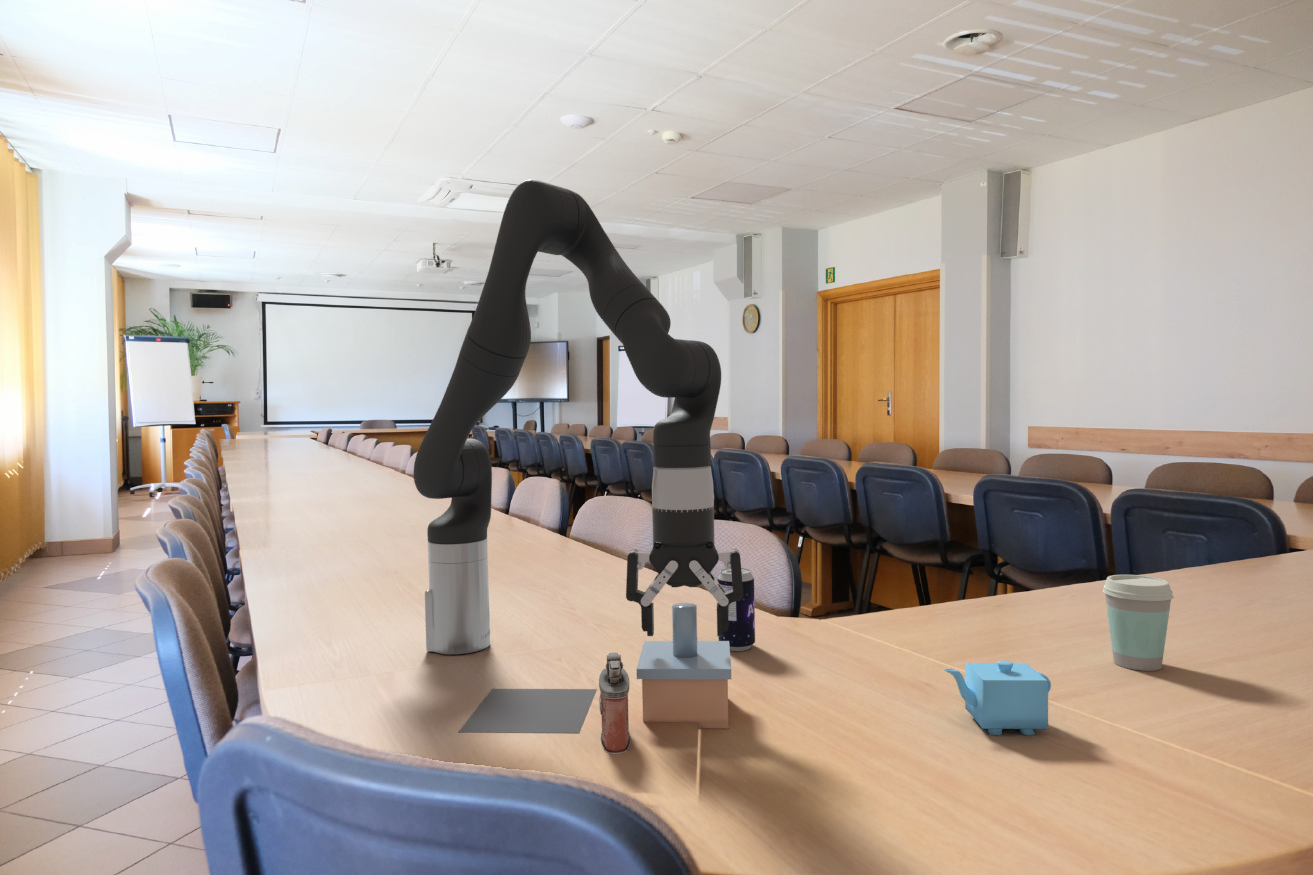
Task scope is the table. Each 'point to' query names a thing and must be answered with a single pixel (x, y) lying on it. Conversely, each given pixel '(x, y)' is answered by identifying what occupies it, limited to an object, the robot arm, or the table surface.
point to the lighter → (614, 706)
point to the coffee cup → (1138, 620)
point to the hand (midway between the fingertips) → (685, 634)
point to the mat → (531, 711)
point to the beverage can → (740, 612)
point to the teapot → (1005, 696)
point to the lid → (684, 652)
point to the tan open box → (686, 701)
